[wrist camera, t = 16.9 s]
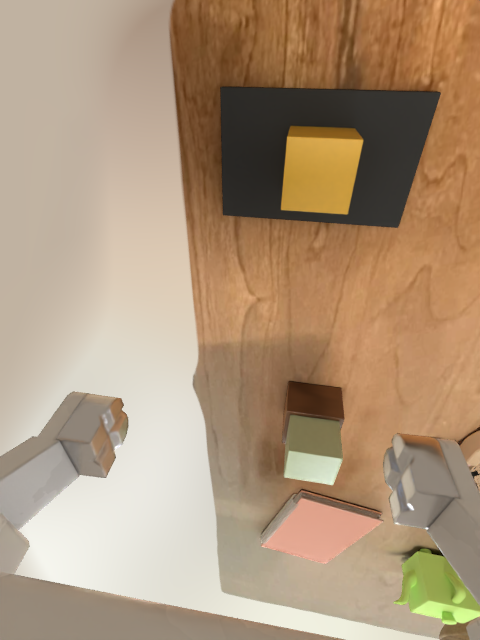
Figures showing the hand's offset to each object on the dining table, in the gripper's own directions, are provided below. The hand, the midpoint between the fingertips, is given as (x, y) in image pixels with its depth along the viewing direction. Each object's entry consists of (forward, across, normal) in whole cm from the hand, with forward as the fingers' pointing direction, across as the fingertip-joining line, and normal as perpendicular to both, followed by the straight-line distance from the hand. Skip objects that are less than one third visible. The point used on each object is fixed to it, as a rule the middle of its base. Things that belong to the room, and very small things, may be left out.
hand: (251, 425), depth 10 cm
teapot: (+25, -38, +74) cm, 87 cm away
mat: (+25, -2, -2) cm, 25 cm away
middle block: (+20, -6, +29) cm, 36 cm away
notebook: (+26, -12, +69) cm, 74 cm away
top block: (+24, -2, -2) cm, 25 cm away
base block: (+25, -6, +29) cm, 39 cm away
